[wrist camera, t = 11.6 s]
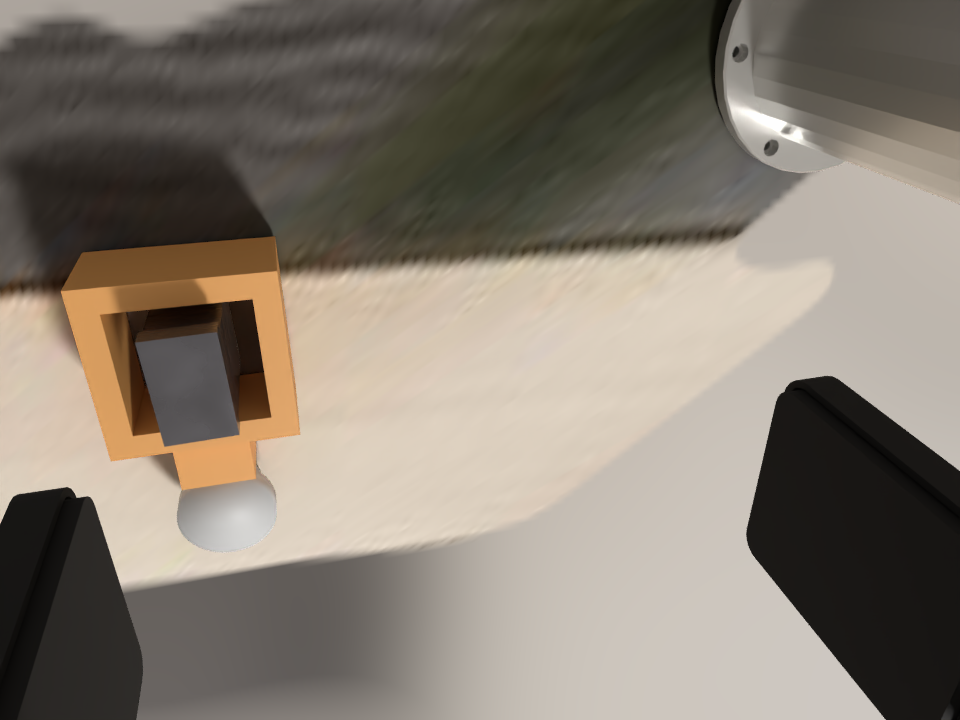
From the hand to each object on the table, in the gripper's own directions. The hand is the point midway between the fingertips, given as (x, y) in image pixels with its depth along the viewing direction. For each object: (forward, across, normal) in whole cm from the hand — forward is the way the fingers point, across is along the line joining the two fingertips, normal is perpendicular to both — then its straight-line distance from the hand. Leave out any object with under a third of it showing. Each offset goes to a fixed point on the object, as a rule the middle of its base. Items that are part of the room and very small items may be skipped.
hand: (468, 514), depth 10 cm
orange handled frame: (+28, +7, +14) cm, 32 cm away
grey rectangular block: (+28, +7, +10) cm, 31 cm away
